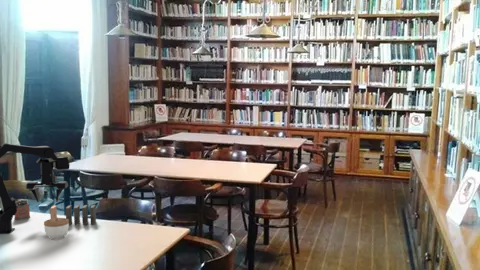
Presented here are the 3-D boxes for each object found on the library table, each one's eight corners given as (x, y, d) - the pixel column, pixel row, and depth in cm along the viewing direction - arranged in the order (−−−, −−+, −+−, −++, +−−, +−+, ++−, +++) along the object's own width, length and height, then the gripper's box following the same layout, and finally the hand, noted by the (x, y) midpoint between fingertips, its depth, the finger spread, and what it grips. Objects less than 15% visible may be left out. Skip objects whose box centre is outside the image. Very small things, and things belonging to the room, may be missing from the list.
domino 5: (93, 224, 228) (93, 207, 227) (90, 224, 228) (90, 207, 227) (95, 221, 233) (95, 204, 232) (92, 222, 233) (92, 205, 232)
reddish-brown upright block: (28, 216, 242) (27, 198, 241) (31, 217, 240) (30, 199, 239) (13, 219, 236) (12, 201, 235) (16, 220, 234) (15, 202, 233)
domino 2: (69, 225, 227) (68, 207, 226) (66, 225, 227) (65, 208, 226) (72, 222, 232) (71, 205, 231) (68, 222, 232) (68, 205, 231)
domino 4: (85, 225, 228) (85, 207, 227) (82, 225, 227) (82, 207, 227) (88, 222, 233) (87, 205, 232) (84, 222, 232) (84, 205, 232)
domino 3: (77, 225, 227) (77, 207, 226) (74, 225, 227) (73, 207, 226) (80, 222, 232) (79, 205, 231) (76, 222, 232) (76, 205, 231)
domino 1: (54, 225, 226) (53, 208, 225) (50, 225, 226) (50, 208, 225) (57, 222, 231) (56, 205, 230) (53, 222, 231) (53, 205, 230)
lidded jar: (74, 234, 213) (73, 215, 212) (60, 242, 202) (60, 221, 201) (53, 233, 215) (53, 213, 214) (39, 240, 204) (38, 220, 203)
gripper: (70, 168, 234) (71, 198, 236) (33, 168, 232) (34, 198, 234) (64, 172, 223) (65, 203, 225) (25, 172, 221) (26, 203, 223)
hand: (47, 201), depth 227 cm, fingers open, 9 cm apart
